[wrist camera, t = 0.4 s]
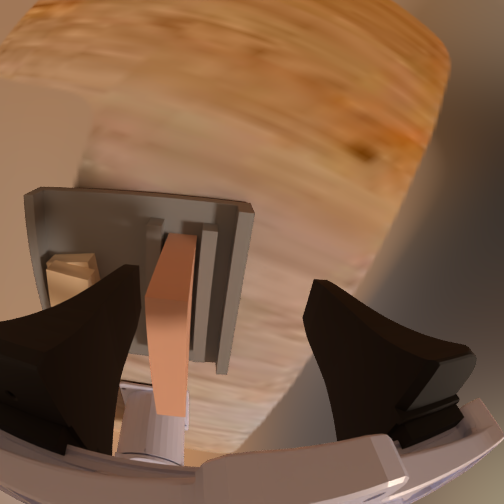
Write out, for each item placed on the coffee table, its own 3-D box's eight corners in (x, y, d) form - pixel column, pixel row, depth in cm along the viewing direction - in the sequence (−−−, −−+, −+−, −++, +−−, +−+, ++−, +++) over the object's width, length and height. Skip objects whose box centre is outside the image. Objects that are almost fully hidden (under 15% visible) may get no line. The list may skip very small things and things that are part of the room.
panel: (189, 341, 24) (185, 417, 16) (167, 339, 23) (156, 414, 16) (197, 235, 20) (187, 301, 12) (169, 232, 19) (144, 296, 12)
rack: (225, 355, 26) (227, 374, 24) (64, 333, 23) (55, 349, 21) (250, 203, 20) (254, 213, 18) (40, 186, 17) (23, 195, 15)
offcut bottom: (110, 316, 22) (105, 327, 20) (73, 314, 21) (67, 324, 20) (94, 253, 19) (87, 262, 18) (54, 254, 19) (46, 262, 17)
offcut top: (97, 323, 20) (91, 335, 19) (60, 313, 19) (53, 324, 18) (95, 269, 18) (87, 280, 17) (55, 259, 17) (46, 269, 16)
